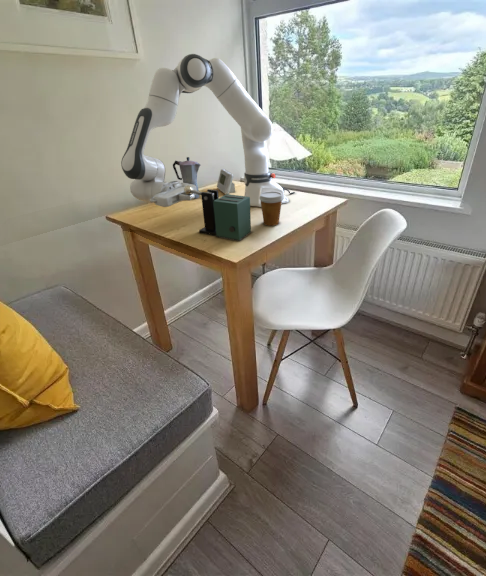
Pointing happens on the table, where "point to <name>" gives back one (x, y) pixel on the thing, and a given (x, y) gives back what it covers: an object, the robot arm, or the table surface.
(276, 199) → the disposable coffee cup
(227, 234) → the toaster
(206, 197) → the lever bracket
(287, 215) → the table surface
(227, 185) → the digital clock
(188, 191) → the lever
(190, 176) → the moka pot
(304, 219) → the table surface
